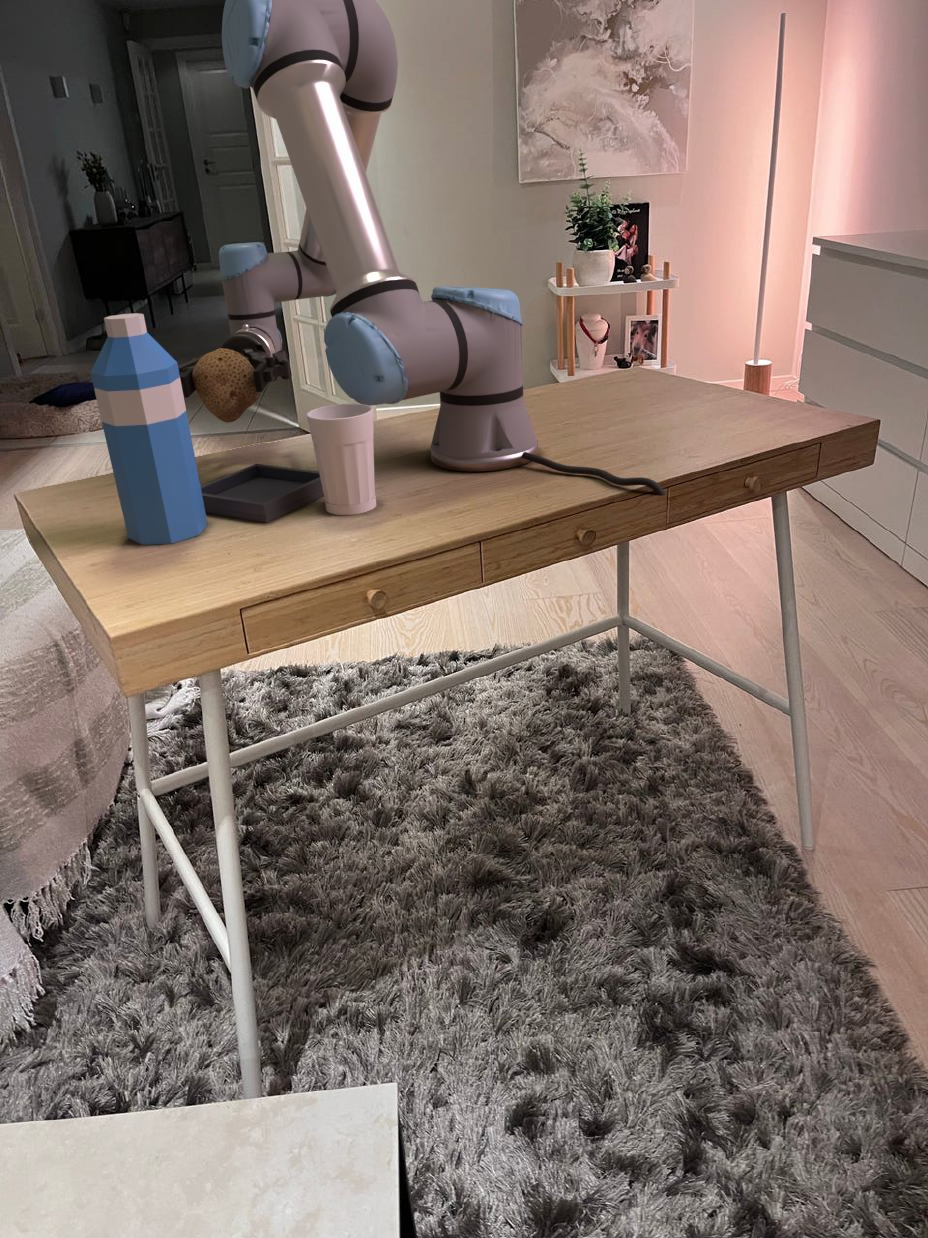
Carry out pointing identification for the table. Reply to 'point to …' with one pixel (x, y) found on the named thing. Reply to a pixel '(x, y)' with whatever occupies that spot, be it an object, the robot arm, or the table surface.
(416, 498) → the table surface
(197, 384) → the natural sponge
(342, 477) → the cup
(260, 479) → the soap dish
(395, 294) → the robot arm
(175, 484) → the water bottle
